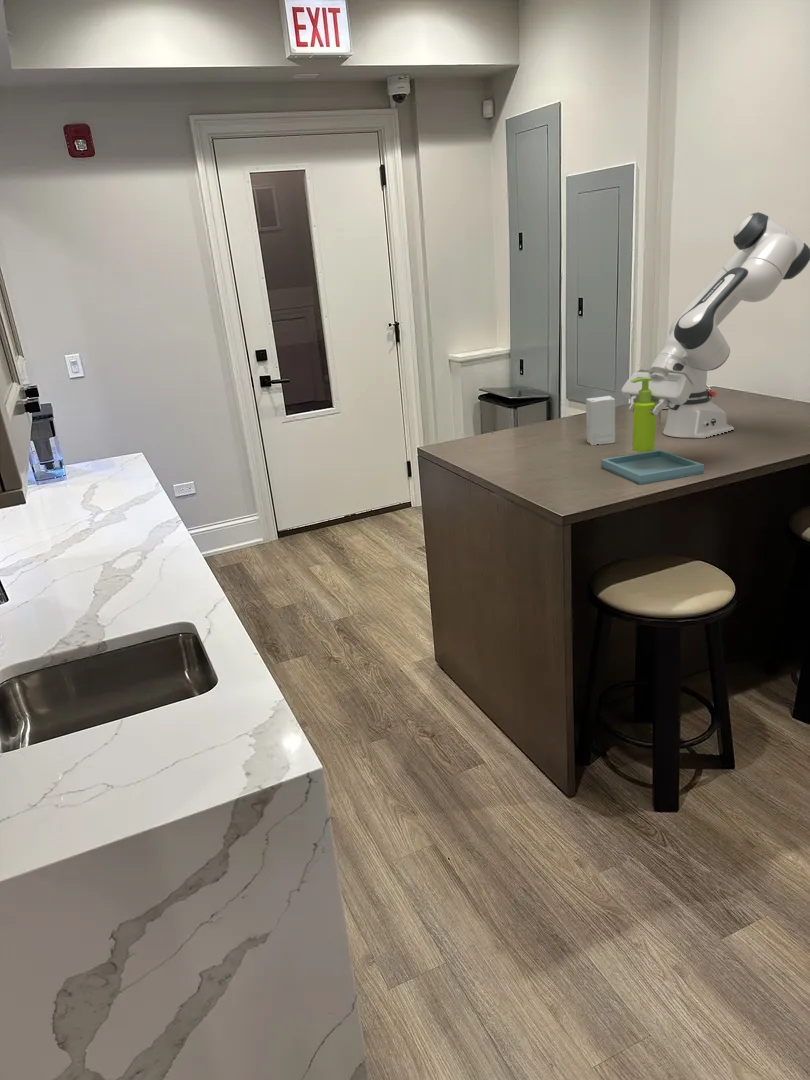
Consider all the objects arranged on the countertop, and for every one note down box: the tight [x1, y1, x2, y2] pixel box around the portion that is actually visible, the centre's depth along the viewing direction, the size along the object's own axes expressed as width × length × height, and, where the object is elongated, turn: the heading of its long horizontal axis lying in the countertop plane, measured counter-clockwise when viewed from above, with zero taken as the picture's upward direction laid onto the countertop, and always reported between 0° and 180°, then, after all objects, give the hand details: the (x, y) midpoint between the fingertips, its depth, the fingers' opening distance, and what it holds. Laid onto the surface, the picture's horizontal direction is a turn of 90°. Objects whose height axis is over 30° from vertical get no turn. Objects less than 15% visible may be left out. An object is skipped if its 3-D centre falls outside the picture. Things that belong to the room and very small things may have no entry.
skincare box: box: [585, 395, 616, 446], centre depth 241 cm, size 8×6×15 cm
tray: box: [600, 449, 705, 485], centre depth 209 cm, size 20×20×2 cm
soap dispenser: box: [631, 378, 657, 453], centre depth 205 cm, size 6×7×20 cm
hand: (642, 412), depth 204 cm, fingers closed on soap dispenser, 6 cm apart
